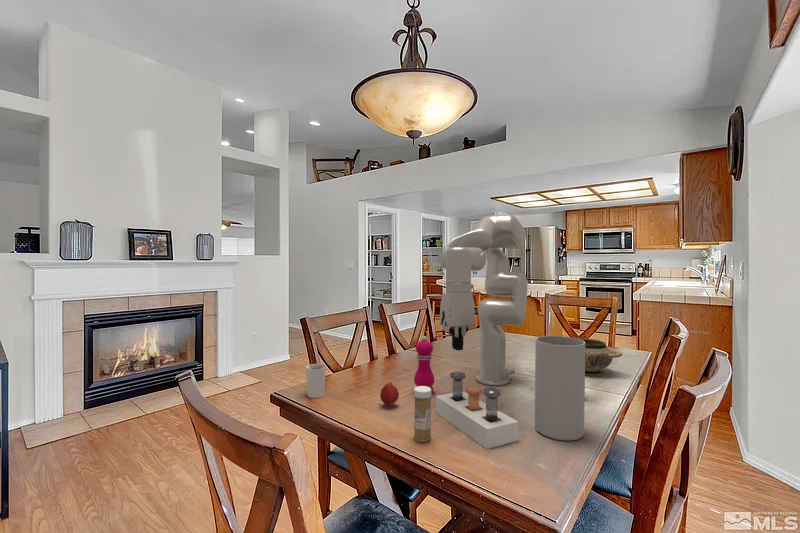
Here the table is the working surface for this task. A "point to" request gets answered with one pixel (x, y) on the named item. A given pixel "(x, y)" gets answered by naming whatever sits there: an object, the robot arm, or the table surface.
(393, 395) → the onion
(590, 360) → the ceramic bowl
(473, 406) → the rust plug
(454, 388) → the grey plug
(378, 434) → the table surface
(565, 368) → the cylinder vase
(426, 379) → the pepper mill
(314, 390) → the drinking glass
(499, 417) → the block
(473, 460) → the table surface
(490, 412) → the grey plug
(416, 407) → the sprinkles bottle
